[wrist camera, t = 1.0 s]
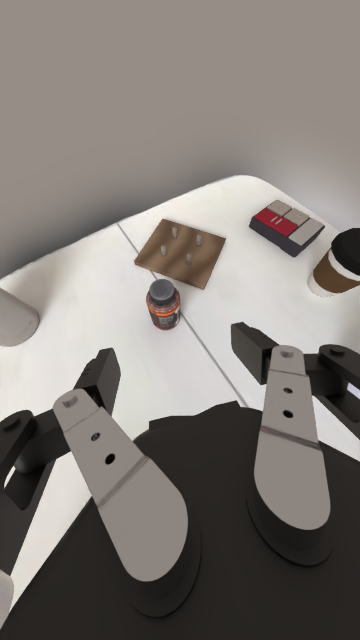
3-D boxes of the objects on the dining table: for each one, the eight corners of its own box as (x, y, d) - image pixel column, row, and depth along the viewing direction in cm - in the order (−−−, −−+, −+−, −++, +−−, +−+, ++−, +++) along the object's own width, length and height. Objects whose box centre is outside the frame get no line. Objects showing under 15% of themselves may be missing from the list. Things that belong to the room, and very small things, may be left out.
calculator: (277, 196, 50) (328, 223, 45) (270, 211, 54) (316, 237, 49) (252, 215, 47) (303, 245, 42) (247, 229, 51) (293, 258, 46)
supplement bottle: (185, 321, 39) (188, 293, 29) (162, 336, 38) (156, 313, 27) (169, 301, 41) (167, 268, 30) (147, 314, 39) (136, 285, 29)
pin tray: (135, 264, 45) (131, 253, 41) (163, 222, 51) (162, 209, 47) (203, 289, 42) (206, 280, 39) (224, 242, 48) (228, 230, 45)
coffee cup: (349, 280, 44) (407, 240, 33) (339, 315, 40) (400, 283, 29) (304, 260, 46) (344, 217, 35) (290, 292, 42) (331, 255, 31)
